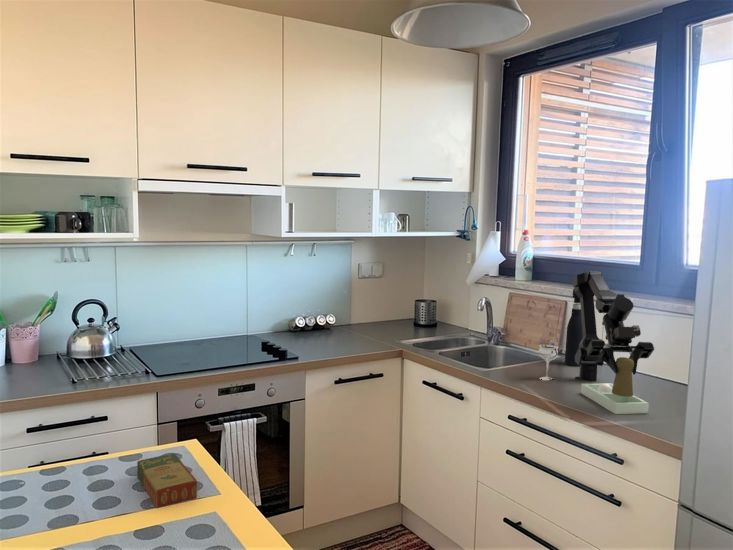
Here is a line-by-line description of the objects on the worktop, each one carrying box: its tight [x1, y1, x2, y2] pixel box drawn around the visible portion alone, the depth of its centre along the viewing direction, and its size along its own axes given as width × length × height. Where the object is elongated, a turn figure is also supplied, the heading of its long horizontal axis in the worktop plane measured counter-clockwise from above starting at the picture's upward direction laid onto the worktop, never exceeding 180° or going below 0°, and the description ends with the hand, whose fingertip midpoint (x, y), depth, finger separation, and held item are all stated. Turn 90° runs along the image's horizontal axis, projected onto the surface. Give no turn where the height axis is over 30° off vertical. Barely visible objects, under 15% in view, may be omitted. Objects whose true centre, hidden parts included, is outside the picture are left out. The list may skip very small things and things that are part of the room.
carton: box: [136, 452, 198, 509], centre depth 124 cm, size 8×16×4 cm, turn 33°
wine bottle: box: [564, 288, 583, 368], centre depth 233 cm, size 6×6×30 cm
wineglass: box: [538, 343, 559, 381], centre depth 213 cm, size 7×7×12 cm
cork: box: [612, 356, 634, 397], centre depth 180 cm, size 6×6×11 cm
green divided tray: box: [580, 382, 649, 415], centre depth 186 cm, size 20×10×4 cm, turn 9°
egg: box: [597, 382, 612, 393], centre depth 190 cm, size 5×5×5 cm
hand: (625, 373), depth 179 cm, fingers closed on cork, 5 cm apart
